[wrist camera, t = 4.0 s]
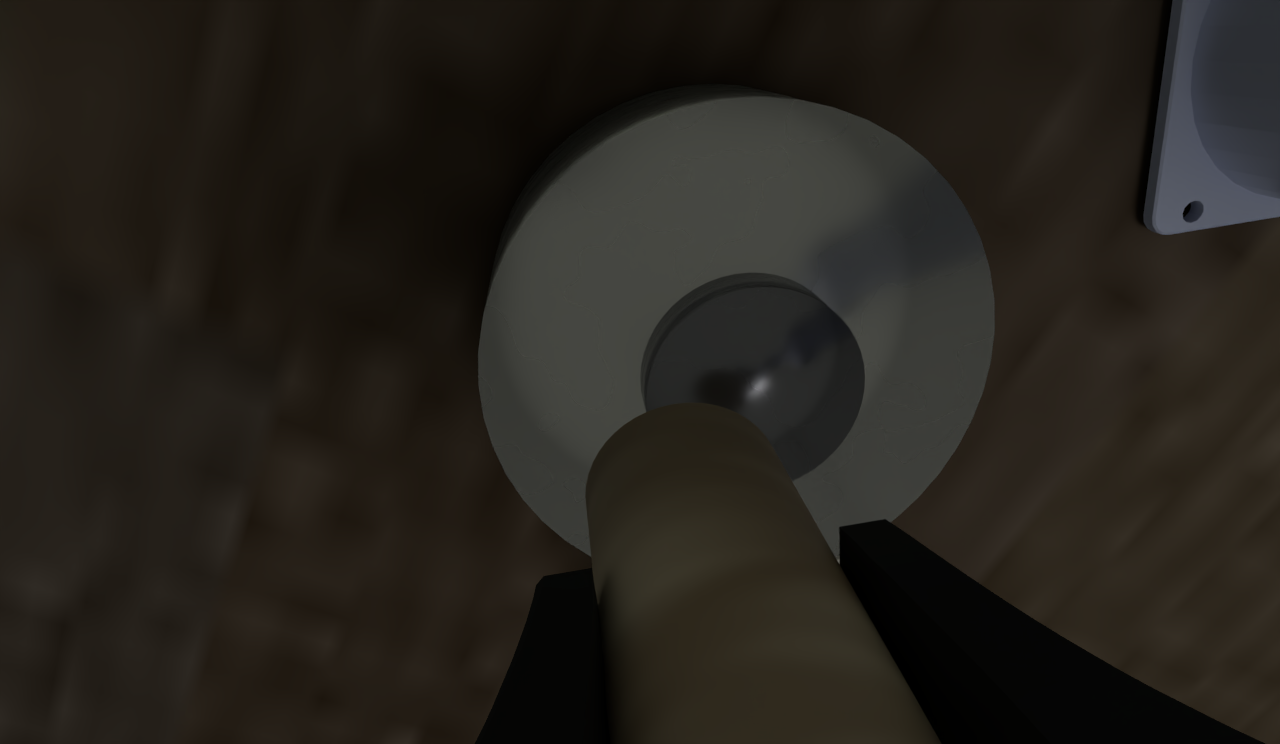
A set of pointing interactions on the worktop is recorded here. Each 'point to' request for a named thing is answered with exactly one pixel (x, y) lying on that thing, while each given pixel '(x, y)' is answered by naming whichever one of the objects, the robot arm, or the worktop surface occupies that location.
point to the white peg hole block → (737, 300)
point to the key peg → (728, 597)
